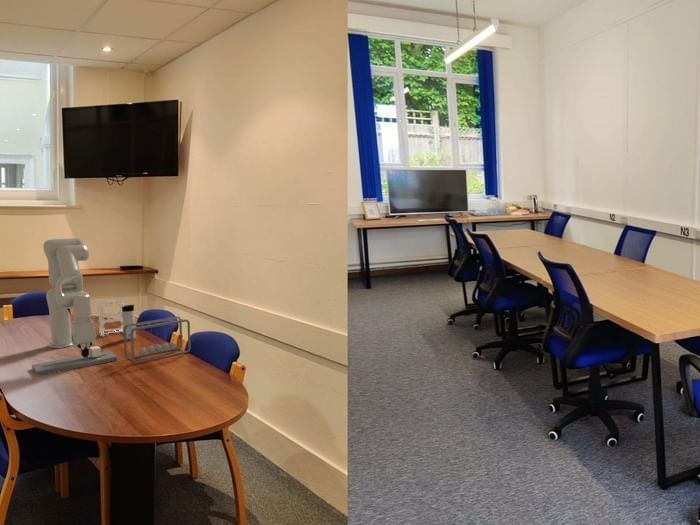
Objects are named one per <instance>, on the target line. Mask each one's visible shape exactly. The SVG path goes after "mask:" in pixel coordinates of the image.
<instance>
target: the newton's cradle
mask: <svg viewBox="0 0 700 525" xmlns="http://www.w3.org/2000/svg"><path fill="white" fill-rule="evenodd" d="M165 321H166V322H165ZM160 322H161V323H160ZM185 322H186V323H187V343H188V344H187V350H184V349H182V348H183V328H182V327H183V326H182V324H183V323H185ZM175 324H178V325H179V327H178V328H179V343H180V344H179V346H178V347H177V342H176V341H174V340H171V341H170V342H169V343H168V342H164V343H163V344H160V343H159V340H160V339H156V342H157V344H156V345H154V346H153V345H152V344H149V346H148V347H147V348H145V347H144V346H141V347H140V348H139V349H138V355H135V346H134V345H135V342H134V341H135V340H133V332H134V331H135V332H136V331H138V330H139V331H140V333H142V332H143V333H142V334H143V335H142V338H140V342H141V344H143V338H144V337H145V336H144V335H145V334H144V332H145V329H147V330H148V333H151V334H150V336H148V337H149V338H148V339H149V341H151V337H152V333H153V331H152V330H153V329H152V328H157V327H161V326H162V328H163V331H165V332H168V331H167V329H168V328H167V326H168V325H169V327H170V328H173V332H170V333H171V336H174V332H175V329H174V328H175V326H173V327H172V326H171V325H175ZM190 325H191V324H190V321H189V319H183V318H181V317H180V316H172V317H166V318H159V319H154V320H147V321H141V322H135V323H134V324H128V325H126V326H125V327H124V328H123V332H122V335H124V336H123V347H124V349H123V350H124V352H123V353H124V358H125V359H126V360H131V362H132V364H135V365H138V364H142V363H147V362H152V361H156V360H161V359H165V358H169V357H175V356H179V355H184V354H188V353H189V352H190V351H191V348H192V347H191V326H190ZM131 326H135V328H133V327H131ZM136 326H137V327H136ZM164 326H166V327H165V328H166V329H165V328H164ZM127 327H131V328H133V329H132V330H131V340H130V345H131V346H130V347H131V356H128V350H127V349H128V347H127V341H126V328H127ZM149 328H150V329H151V331H150V330H149ZM142 330H143V331H142ZM157 332H158V331H155V333H156V335H157V334H158V333H157ZM163 337H164V339H166V335H163ZM176 350H177V351H178V350H180V352H175V353H171V354H170V353H169V352H171V351H172V352H173V351H176ZM162 353H169V354H167V355H160V356H156V357H151V358H148V359H142V360H138V361H136V360H135V359H140V358H143V357H149V356H153V355H158V354H162ZM139 357H140V358H139ZM134 358H135V359H134Z"/></svg>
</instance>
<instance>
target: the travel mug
mask: <svg viewBox="0 0 700 525" xmlns="http://www.w3.org/2000/svg"><path fill="white" fill-rule="evenodd" d="M122 317H123V328H124V327H125V326H126V325H128V324H134V323H136V322H135V320H136V319H135V304H128V305H125V306H124V307H122ZM131 327H133V328H136V326H131ZM131 327H127V328H126V342H127V341H128V340H129V341H131V330H132V329H133V328H131ZM122 335H123V334H122ZM136 336H137V335H136V330H135V331H134V332H133V341H135V339H136ZM123 337H124V335H123Z"/></svg>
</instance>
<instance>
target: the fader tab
mask: <svg viewBox="0 0 700 525" xmlns="http://www.w3.org/2000/svg"><path fill="white" fill-rule="evenodd" d="M101 352H102V348H101V347H100V346H98V345H95V346H90V348H89V354H90V356H91V357H92V358H93V357H98V356H101Z"/></svg>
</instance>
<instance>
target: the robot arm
mask: <svg viewBox="0 0 700 525" xmlns="http://www.w3.org/2000/svg"><path fill="white" fill-rule="evenodd" d="M42 247H43V252H44V255H45V257H46V260H47V264H48V265H47V266H48V281H49V284H50V285H51V286H53V287H54V288H51V289H49V290H47V292H46V294H45V295H46V296H45V297H46V302H47V306H48V312H49V314H48V315H49V322H50V327H49V328H50V337H51V338H50V339H51V342H50V343H49V344H47V345H48V348H50V349H63V348H68V346H69V347H73V348H79V349H80V354H81V355H80V356H83V357H84V358H86V357H88V355H89V348H90V347H92V345H95V344H97V343H98V342H97V333H96V332H97V331H96V327H95V323H94V321H93V320H94V319H96V316H95V315H92V314H93V313H92V304H91V303H92V302H91V295H90V294H89V293H88V292H87V291H84V277H83V272H82V270H81V269H80V265H79V262H84V261H87V260H89V259H90V258H89V257H90V252H89V249H88V247H87V245H86V244H85V242H83V241H82V240H81V239H79V238H75V237H74V238H55V239H53V238H52V239H47V240H45V241H44V242H43V245H42ZM66 286H67V287H66ZM69 309H72V310H73V322H74V323H72V326H71V314H70V311H69ZM84 344H85V346H84Z"/></svg>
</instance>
